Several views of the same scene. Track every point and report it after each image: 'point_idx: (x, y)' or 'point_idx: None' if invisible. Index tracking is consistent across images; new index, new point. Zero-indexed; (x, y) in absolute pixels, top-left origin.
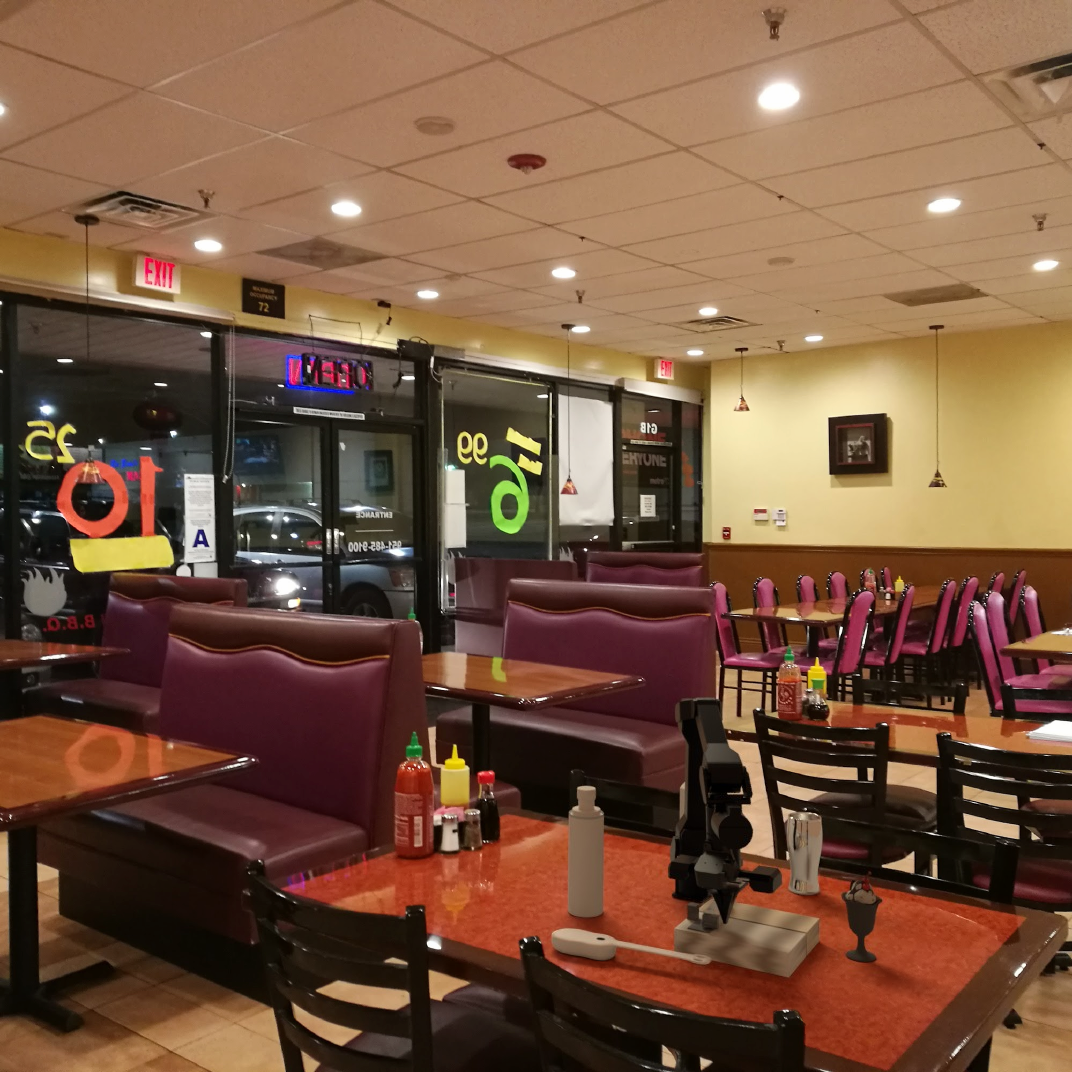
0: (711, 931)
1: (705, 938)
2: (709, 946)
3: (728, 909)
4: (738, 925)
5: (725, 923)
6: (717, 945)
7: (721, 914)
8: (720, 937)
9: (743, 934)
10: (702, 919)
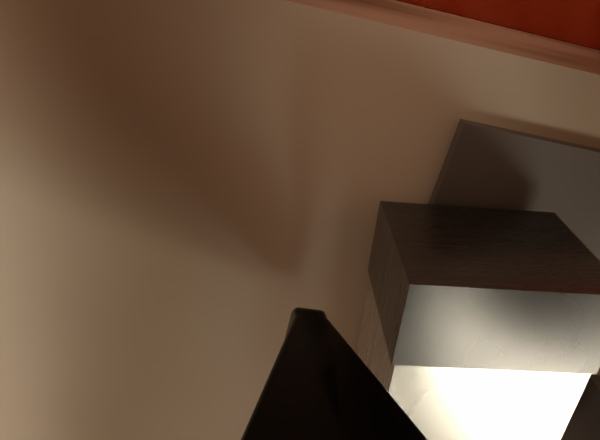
0: (438, 179)
1: (493, 46)
2: (426, 19)
3: (245, 432)
4: (196, 396)
5: (297, 309)
6: (345, 4)
7: (356, 375)
8: (320, 38)
9: (87, 216)
10: (596, 259)
